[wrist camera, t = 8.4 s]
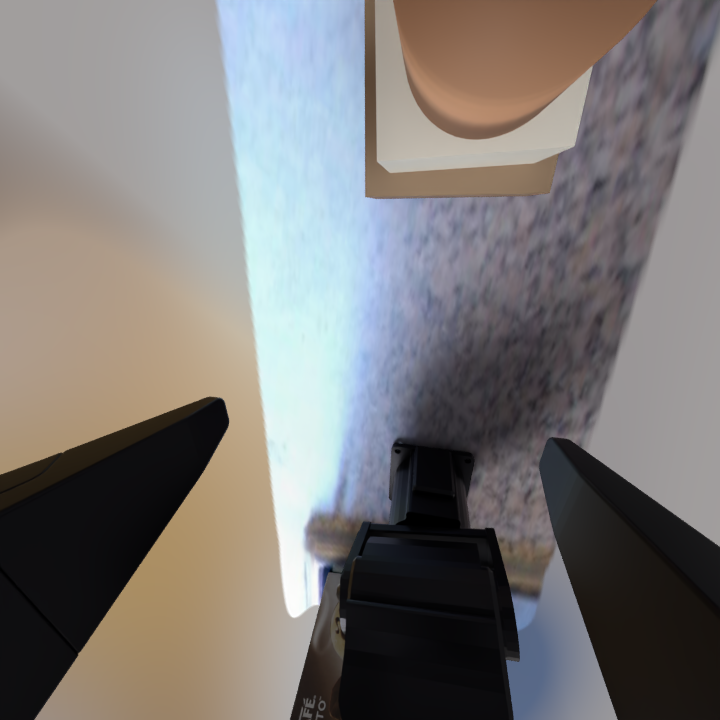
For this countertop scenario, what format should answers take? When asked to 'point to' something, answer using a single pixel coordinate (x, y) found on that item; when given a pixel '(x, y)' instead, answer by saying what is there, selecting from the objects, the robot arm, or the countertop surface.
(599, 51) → the brown short cylinder
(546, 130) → the tower top block
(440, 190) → the tower base
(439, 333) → the countertop surface
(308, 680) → the coffee box
